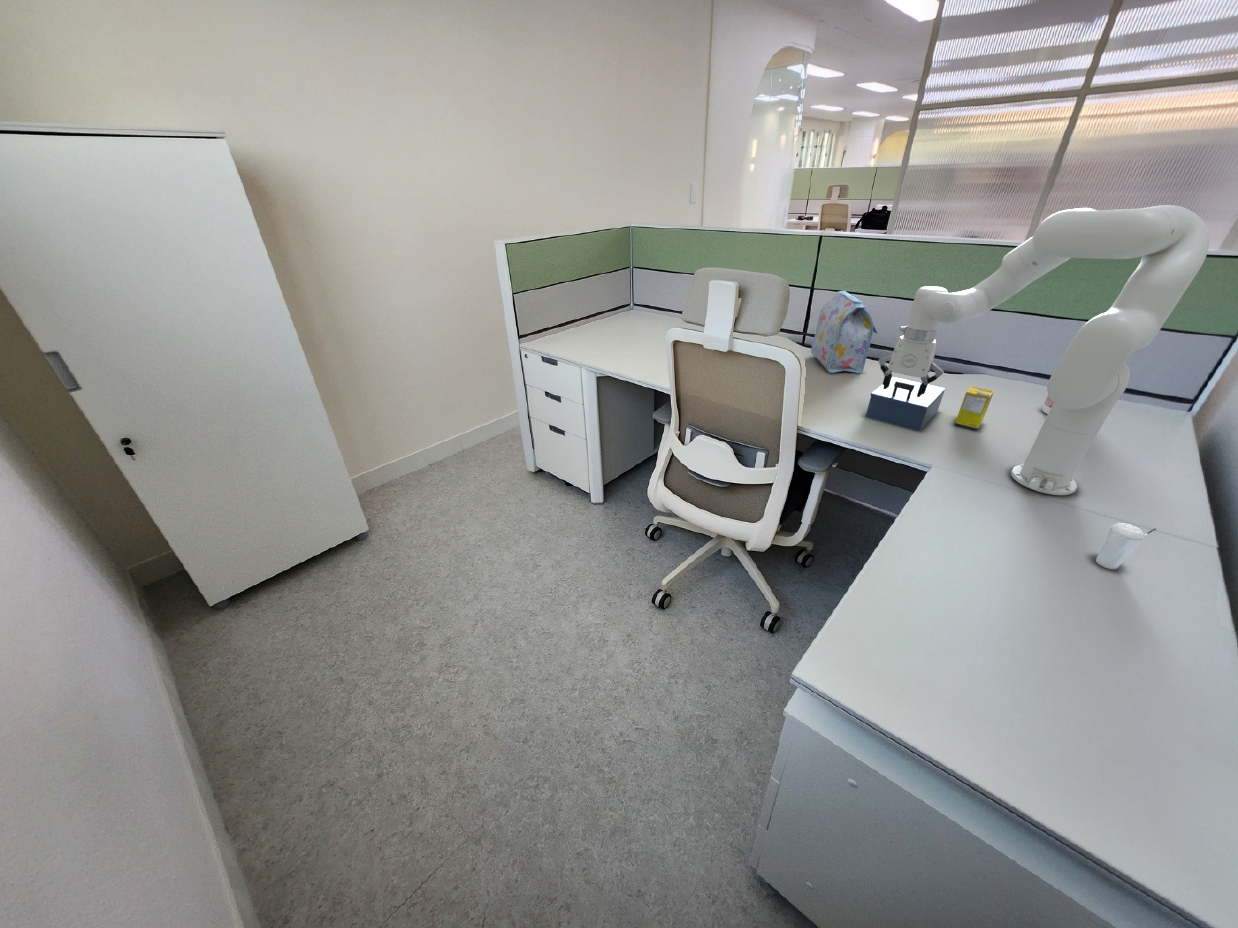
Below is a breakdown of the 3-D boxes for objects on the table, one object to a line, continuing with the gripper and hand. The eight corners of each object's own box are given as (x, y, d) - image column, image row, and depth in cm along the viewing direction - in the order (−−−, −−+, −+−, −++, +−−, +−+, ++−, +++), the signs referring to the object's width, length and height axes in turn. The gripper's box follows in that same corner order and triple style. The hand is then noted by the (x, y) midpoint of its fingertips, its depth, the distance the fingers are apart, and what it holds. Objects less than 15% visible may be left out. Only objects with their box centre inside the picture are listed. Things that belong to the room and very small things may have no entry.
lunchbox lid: (926, 409, 138) (932, 392, 135) (870, 395, 147) (874, 379, 144) (944, 390, 149) (950, 374, 146) (891, 378, 158) (895, 363, 155)
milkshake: (1130, 576, 90) (1159, 535, 85) (1093, 566, 93) (1119, 526, 88) (1124, 562, 94) (1152, 521, 88) (1089, 553, 96) (1114, 513, 91)
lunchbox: (919, 431, 142) (927, 408, 138) (865, 416, 151) (871, 395, 148) (937, 412, 152) (944, 390, 149) (885, 399, 162) (891, 379, 158)
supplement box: (981, 424, 145) (994, 390, 139) (976, 431, 141) (990, 396, 135) (958, 418, 148) (971, 385, 143) (953, 425, 144) (966, 391, 139)
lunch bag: (871, 374, 182) (889, 302, 168) (826, 375, 182) (841, 303, 169) (847, 355, 201) (862, 289, 187) (807, 355, 202) (819, 290, 188)
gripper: (882, 331, 136) (867, 388, 145) (951, 343, 126) (930, 403, 135) (891, 325, 141) (876, 381, 150) (959, 336, 130) (938, 395, 139)
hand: (902, 391), depth 142 cm, fingers open, 8 cm apart
